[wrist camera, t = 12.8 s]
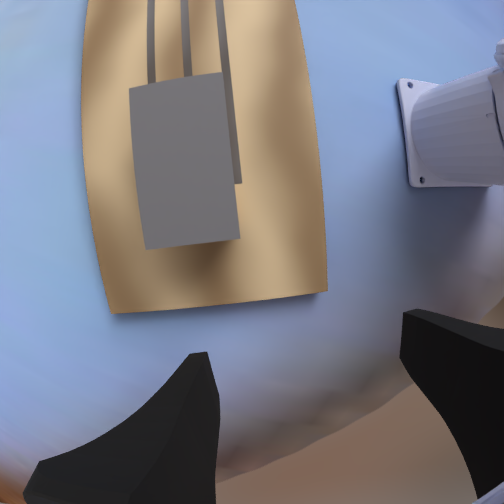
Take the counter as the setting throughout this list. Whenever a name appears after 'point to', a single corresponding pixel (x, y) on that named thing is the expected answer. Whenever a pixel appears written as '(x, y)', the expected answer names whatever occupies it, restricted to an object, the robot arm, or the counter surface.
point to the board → (241, 142)
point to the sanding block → (183, 161)
